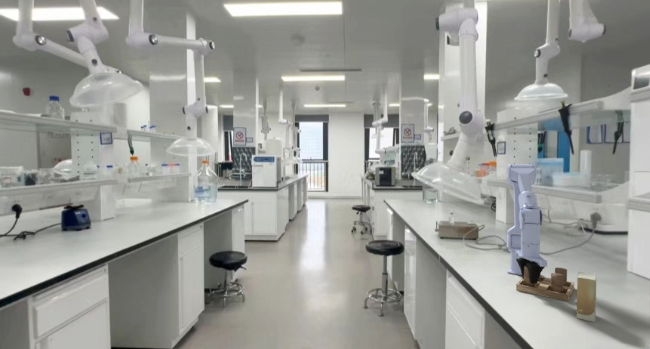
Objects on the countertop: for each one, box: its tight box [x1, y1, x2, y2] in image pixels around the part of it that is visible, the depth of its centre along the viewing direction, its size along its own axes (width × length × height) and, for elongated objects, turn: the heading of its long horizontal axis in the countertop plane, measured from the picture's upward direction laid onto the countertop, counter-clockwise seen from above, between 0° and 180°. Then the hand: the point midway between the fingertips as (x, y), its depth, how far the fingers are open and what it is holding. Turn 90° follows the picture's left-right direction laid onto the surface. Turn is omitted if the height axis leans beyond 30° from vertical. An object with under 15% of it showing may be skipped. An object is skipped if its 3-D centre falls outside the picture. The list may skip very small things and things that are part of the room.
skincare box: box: [576, 271, 597, 323], centre depth 100 cm, size 6×4×12 cm
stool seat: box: [515, 267, 575, 302], centre depth 121 cm, size 15×15×7 cm
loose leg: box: [524, 265, 535, 288], centre depth 121 cm, size 4×4×7 cm
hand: (529, 281), depth 121 cm, fingers closed on loose leg, 3 cm apart
